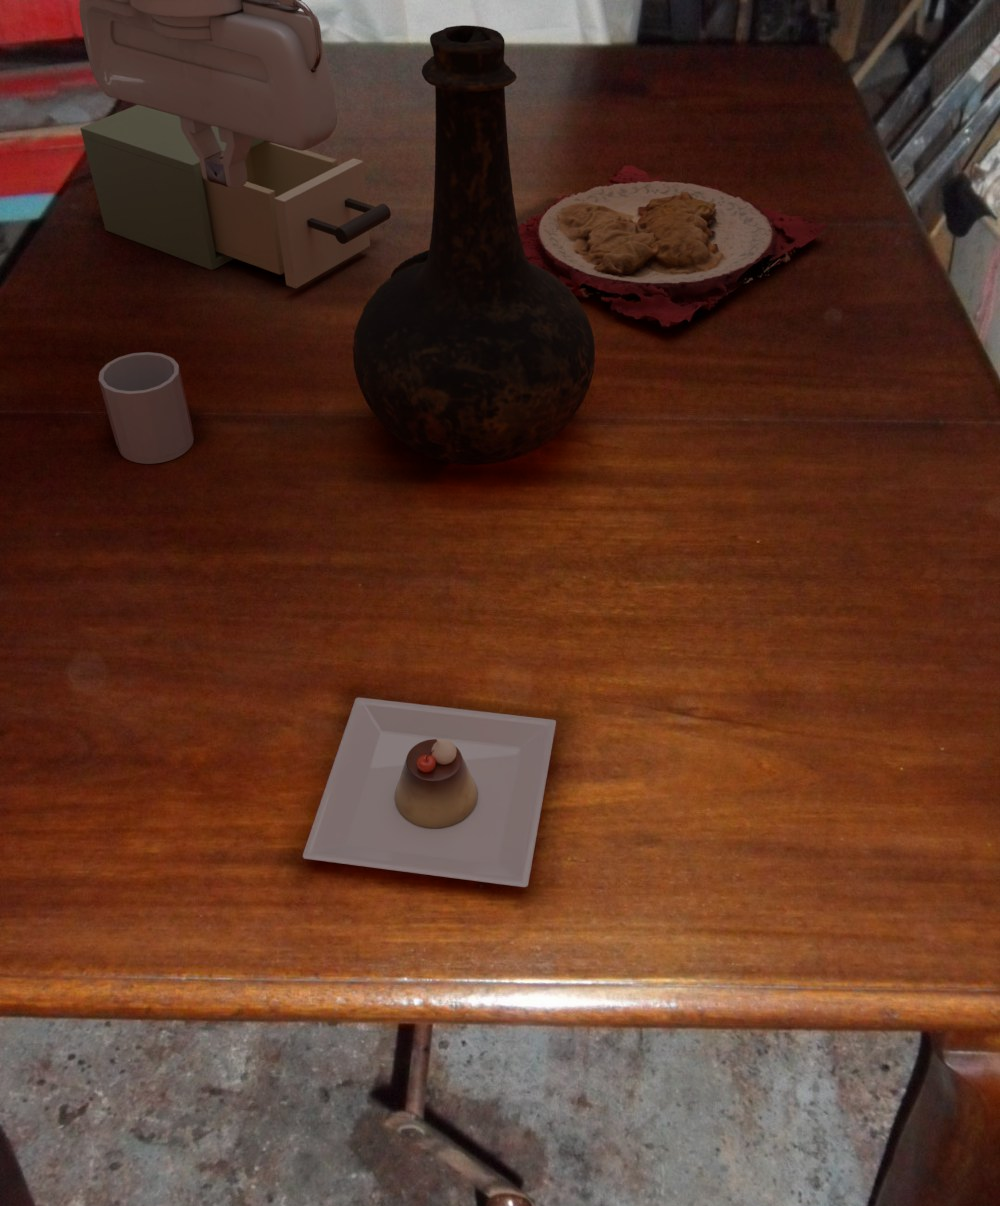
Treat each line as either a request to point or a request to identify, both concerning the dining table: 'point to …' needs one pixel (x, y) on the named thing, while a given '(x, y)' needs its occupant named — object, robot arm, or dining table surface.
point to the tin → (147, 407)
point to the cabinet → (152, 183)
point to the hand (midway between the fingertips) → (225, 182)
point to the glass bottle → (473, 292)
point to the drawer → (293, 212)
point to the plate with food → (659, 243)
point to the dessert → (435, 792)
